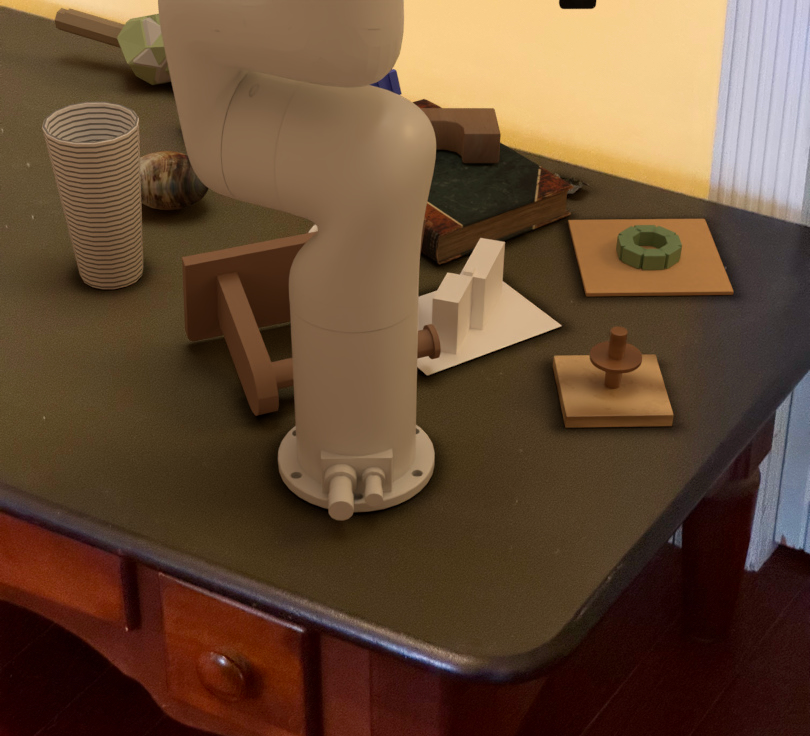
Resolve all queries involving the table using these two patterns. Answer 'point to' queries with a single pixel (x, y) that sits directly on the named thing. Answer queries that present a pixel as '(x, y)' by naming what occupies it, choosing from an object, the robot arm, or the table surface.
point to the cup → (99, 188)
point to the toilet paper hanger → (254, 310)
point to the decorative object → (124, 40)
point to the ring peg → (612, 386)
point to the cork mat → (615, 278)
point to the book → (487, 201)
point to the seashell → (169, 181)
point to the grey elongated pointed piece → (573, 183)
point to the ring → (648, 236)
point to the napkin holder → (478, 311)
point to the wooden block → (467, 132)
